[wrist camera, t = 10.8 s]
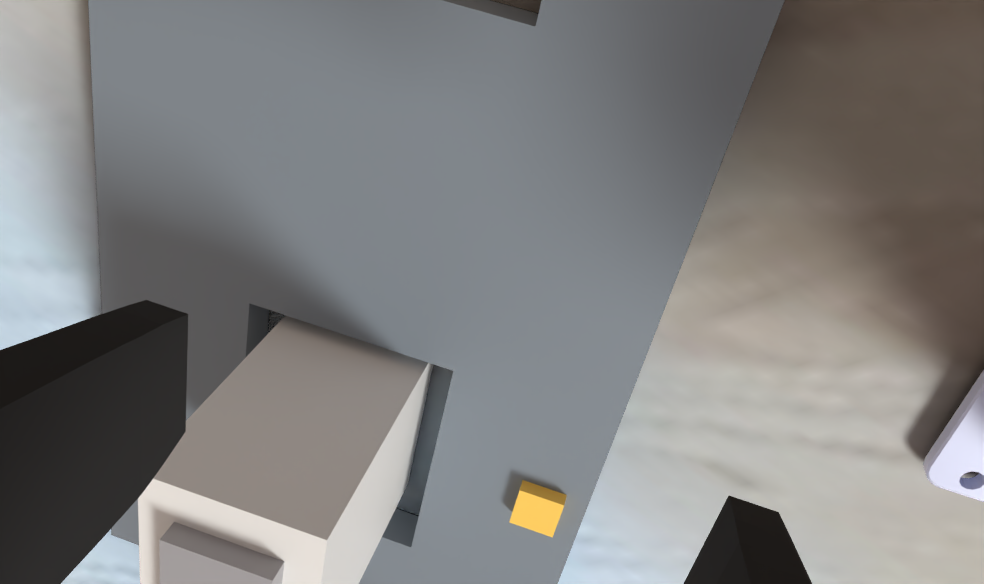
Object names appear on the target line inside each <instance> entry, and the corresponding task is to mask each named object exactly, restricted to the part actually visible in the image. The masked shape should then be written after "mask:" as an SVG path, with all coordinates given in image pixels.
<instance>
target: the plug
mask: <svg viewBox="0 0 984 584" xmlns="http://www.w3.org/2000/svg"><path fill="white" fill-rule="evenodd" d="M432 368H433V364H431V363H428V362H425V361H422V360H419V359H416V358H413V357H410V356H407V355H404V354H401V353H398V352H395V351H392V350H389V349H386V348H383V347H380V346H377V345H374V344H370V343H367V342H364V341H361V340H358V339H355V338H352V337H349V336H346V335H343V334H340V333H337V332H334V331H331V330H328V329H325V328H322V327H319V326H316V325H313V324H310V323H307V322H304V321H301V320H298V319H295V318H292V317H289V316H286V315H285V316H284V317H283V318H282V320H281V321H280V322H279V323H278V324H277V325H276V326H275V327H274V328H273V329H272V330H271V331H270V332H269V333H268V334H267V335H266V337H265V338H264V339H263V340H262V341H261V342H260V343H259V344H258V345H257V346H256V347H255V348H254V349H253V350H252V351H251V352H250V354H249V355H248V356H247V357H246V358H245V359H244V360H243V361H242V362H241V363H240V364H239V365H238V366H237V367H236V368H235V369H234V371H233V372H232V373H231V374H230V375H229V376H228V377H227V378H226V379H225V380H224V381H223V382H222V383H221V384H220V385H219V386H218V388H217V389H216V390H215V391H214V392H213V393H212V394H211V395H210V396H209V397H208V398H207V399H206V400H205V401H204V402H203V403H202V405H201V406H200V407H199V408H198V409H197V410H196V411H195V412H194V413H193V414H192V415H191V416H190V417H189V418H188V419H187V420H186V432H185V433H184V435H183V436H182V438H181V439H180V441H179V442H178V444H177V445H176V447H175V448H174V449H173V451H172V452H171V454H170V455H169V457H168V458H167V460H166V461H165V463H164V464H163V466H162V467H161V468H160V470H159V471H158V473H157V474H156V475H155V477H154V478H153V479H152V481H151V482H150V484H149V485H148V486H147V488H146V489H145V490H144V492H143V493H142V494H141V496H140V497H139V498H138V522H139V559H140V584H359V582H360V580H361V578H362V576H363V574H364V572H365V570H366V568H367V566H368V564H369V562H370V560H371V558H372V556H373V554H374V552H375V550H376V548H377V546H378V544H379V542H380V540H381V538H382V535H383V533H384V531H385V529H386V527H387V525H388V523H389V521H390V519H391V517H392V515H393V513H394V511H395V509H396V507H397V505H398V503H399V501H400V499H401V497H402V495H403V493H404V491H405V489H406V487H407V485H408V481H409V477H410V472H411V467H412V463H413V458H414V453H415V448H416V444H417V439H418V434H419V430H420V425H421V420H422V415H423V411H424V406H425V401H426V396H427V392H428V387H429V382H430V378H431V373H432Z"/></svg>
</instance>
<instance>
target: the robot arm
mask: <svg viewBox="0 0 984 584" xmlns="http://www.w3.org/2000/svg"><path fill="white" fill-rule="evenodd" d="M187 349H188V314H187V313H184V312H181V311H178V310H175V309H172V308H169V307H166V306H163V305H160V304H157V303H154V302H151V301H148V300H144V301H141V302H137V303H134V304H131V305H127V306H124V307H121V308H118V309H115V310H112V311H110V312H107V313H104V314H101V315H98V316H95V317H92V318H90V319H87V320H84V321H81V322H78V323H76V324H73V325H70V326H67V327H65V328H62V329H59V330H56V331H53V332H51V333H48V334H45V335H42V336H39V337H37V338H34V339H31V340H28V341H25V342H22V343H20V344H17V345H14V346H11V347H8V348H5V349H3V350H0V584H61V582H62V581H63V580H64V579H65V578H66V577H67V576H68V575H69V574H70V573H71V572H72V571H73V569H74V568H75V567H76V566H77V565H78V564H79V563H80V562H81V561H82V560H83V559H84V558H85V556H86V555H87V554H88V553H89V552H90V551H91V550H92V549H93V548H94V547H95V546H96V545H97V543H98V542H99V541H100V540H101V539H102V538H103V537H104V536H105V535H106V533H107V532H108V531H109V530H110V529H111V528H112V527H113V526H114V525H115V524H116V522H117V521H118V520H119V519H120V518H121V517H122V516H123V515H124V514H125V513H126V511H127V510H128V509H129V508H130V507H131V506H132V505H133V504H134V502H135V501H136V500H137V499H138V498H139V497H140V496H141V494H142V493H143V492H144V490H145V489H146V488H147V486H148V485H149V484H150V482H151V481H152V479H153V478H154V477H155V475H156V474H157V473H158V471H159V470H160V468H161V467H162V466H163V464H164V463H165V461H166V460H167V458H168V457H169V455H170V454H171V452H172V451H173V449H174V448H175V447H176V445H177V444H178V442H179V441H180V439H181V438H182V436H183V435H184V433H185V432H186V392H187ZM923 465H924V470H925V473H926V476H927V478H928V480H929V481H930V482H931V483H932V484H934V485H935V486H937V487H939V488H942V489H945V490H949V491H952V492H955V493H958V494H961V495H964V496H967V497H970V498H973V499H976V500H979V501H982V502H984V370H983V371H982V373H981V374H980V376H979V377H978V379H977V380H976V382H975V383H974V385H973V386H972V388H971V389H970V391H969V392H968V394H967V395H966V397H965V398H964V400H963V401H962V403H961V404H960V406H959V407H958V409H957V410H956V412H955V413H954V415H953V416H952V418H951V419H950V421H949V422H948V424H947V425H946V427H945V428H944V430H943V431H942V433H941V434H940V436H939V437H938V439H937V440H936V442H935V443H934V445H933V446H932V448H931V449H930V451H929V452H928V454H927V455H926V457H925V460H924V462H923ZM971 471H972V472H979V474H978V475H976V476H975V477H972V478H962V477H961V476H962V475H963V474H965V473H968V472H971ZM684 584H812V582H811V580H810V578H809V576H808V574H807V572H806V570H805V567H804V565H803V563H802V561H801V559H800V557H799V554H798V552H797V550H796V548H795V546H794V544H793V542H792V539H791V537H790V535H789V533H788V531H787V529H786V527H785V525H784V523H783V521H782V518H781V516H780V514H779V512H776V511H773V510H770V509H767V508H764V507H761V506H758V505H755V504H752V503H749V502H746V501H743V500H740V499H737V498H734V497H731V496H728V498H727V500H726V502H725V504H724V506H723V508H722V510H721V512H720V514H719V516H718V518H717V520H716V522H715V524H714V526H713V528H712V529H711V531H710V533H709V535H708V537H707V539H706V541H705V543H704V545H703V547H702V549H701V551H700V553H699V555H698V557H697V559H696V561H695V563H694V565H693V567H692V568H691V570H690V572H689V574H688V576H687V578H686V580H685V582H684Z"/></svg>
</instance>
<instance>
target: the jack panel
mask: <svg viewBox="0 0 984 584" xmlns="http://www.w3.org/2000/svg"><path fill="white" fill-rule="evenodd" d="M784 1H785V0H542V1H541V5H540V9H539V14H537V13H534V12H530V11H527V10H523V9H520V8H516V7H512V6H509V5H505V4H502V3H498V2H495V1H491V0H88V7H89V30H90V53H91V76H92V99H93V122H94V145H95V168H96V190H97V213H98V236H99V259H100V282H101V305H102V314H104V313H107V312H110V311H112V310H115V309H118V308H121V307H124V306H127V305H131V304H134V303H137V302H141V301H144V300H148V301H151V302H154V303H157V304H160V305H163V306H166V307H169V308H172V309H175V310H178V311H181V312H184V313H187V314H188V349H187V392H186V420H187V419H188V418H189V417H190V416H191V415H192V414H193V413H194V412H195V411H196V410H197V409H198V408H199V407H200V406H201V405H202V403H203V402H204V401H205V400H206V399H207V398H208V397H209V396H210V395H211V394H212V393H213V392H214V391H215V390H216V389H217V388H218V386H219V385H220V384H221V383H222V382H223V381H224V380H225V379H226V378H227V377H228V376H229V375H230V374H231V373H232V372H233V371H234V369H235V368H236V367H237V366H238V365H239V364H240V363H241V362H242V361H243V360H244V359H245V358H246V357H247V356H248V355H249V354H250V352H251V351H252V350H253V349H254V348H255V347H256V346H257V345H258V344H259V343H260V342H261V341H262V340H263V339H264V338H265V337H266V335H267V331H268V319H269V310H271V311H274V312H277V313H280V314H283V315H286V316H289V317H292V318H295V319H298V320H301V321H304V322H307V323H310V324H313V325H316V326H319V327H322V328H325V329H328V330H331V331H334V332H337V333H340V334H343V335H346V336H349V337H352V338H355V339H358V340H361V341H364V342H367V343H370V344H374V345H377V346H380V347H383V348H386V349H389V350H392V351H395V352H398V353H401V354H404V355H407V356H410V357H413V358H416V359H419V360H422V361H425V362H428V363H431V364H434V365H437V366H440V367H443V368H446V369H449V370H452V371H453V374H452V378H451V383H450V387H449V391H448V395H447V399H446V404H445V408H444V412H443V416H442V420H441V424H440V429H439V433H438V437H437V441H436V445H435V450H434V454H433V458H432V462H431V466H430V471H429V475H428V479H427V483H426V487H425V492H424V496H423V500H422V504H421V508H420V513H419V516H416V515H413V514H410V513H408V512H405V511H402V510H399V509H395V511H394V513H393V515H392V517H391V519H390V521H389V523H388V525H387V527H386V529H385V531H384V533H383V535H382V538H381V540H380V542H379V544H378V546H377V548H376V550H375V552H374V554H373V556H372V558H371V560H370V562H369V564H368V566H367V568H366V570H365V572H364V574H363V576H362V578H361V580H360V582H359V584H557V583H558V581H559V578H560V576H561V573H562V571H563V568H564V566H565V563H566V560H567V558H568V555H569V553H570V550H571V548H572V545H573V542H574V540H575V537H576V535H577V532H578V530H579V527H580V524H581V522H582V519H583V517H584V514H585V512H586V509H587V506H588V504H589V501H590V499H591V496H592V494H593V491H594V489H595V486H596V483H597V481H598V478H599V476H600V473H601V471H602V468H603V465H604V463H605V460H606V458H607V455H608V453H609V450H610V447H611V445H612V442H613V440H614V437H615V435H616V432H617V430H618V427H619V424H620V422H621V419H622V417H623V414H624V412H625V409H626V406H627V404H628V401H629V399H630V396H631V394H632V391H633V388H634V386H635V383H636V381H637V378H638V376H639V373H640V370H641V368H642V365H643V363H644V360H645V358H646V355H647V353H648V350H649V347H650V345H651V342H652V340H653V337H654V335H655V332H656V329H657V327H658V324H659V322H660V319H661V317H662V314H663V311H664V309H665V306H666V304H667V301H668V299H669V296H670V293H671V291H672V288H673V286H674V283H675V281H676V278H677V276H678V273H679V270H680V268H681V265H682V263H683V260H684V258H685V255H686V252H687V250H688V247H689V245H690V242H691V240H692V237H693V234H694V232H695V229H696V227H697V224H698V222H699V219H700V217H701V214H702V211H703V209H704V206H705V204H706V201H707V199H708V196H709V193H710V191H711V188H712V186H713V183H714V181H715V178H716V175H717V173H718V170H719V168H720V165H721V163H722V160H723V157H724V155H725V152H726V150H727V147H728V145H729V142H730V140H731V137H732V134H733V132H734V129H735V127H736V124H737V122H738V119H739V116H740V114H741V111H742V109H743V106H744V104H745V101H746V98H747V96H748V93H749V91H750V88H751V86H752V83H753V80H754V78H755V75H756V73H757V70H758V68H759V65H760V63H761V60H762V57H763V55H764V52H765V50H766V47H767V45H768V42H769V39H770V37H771V34H772V32H773V29H774V27H775V24H776V21H777V19H778V16H779V14H780V11H781V9H782V6H783V4H784ZM111 535H113V536H116V537H118V538H121V539H124V540H127V541H129V542H132V543H135V544H137V545H139V522H138V499H137V500H136V501H135V502H134V504H133V505H132V506H131V507H130V508H129V509H128V510H127V511H126V513H125V514H124V515H123V516H122V517H121V518H120V519H119V520H118V521H117V522H116V524H115V525H114V526H113V527H112V528H111Z"/></svg>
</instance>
